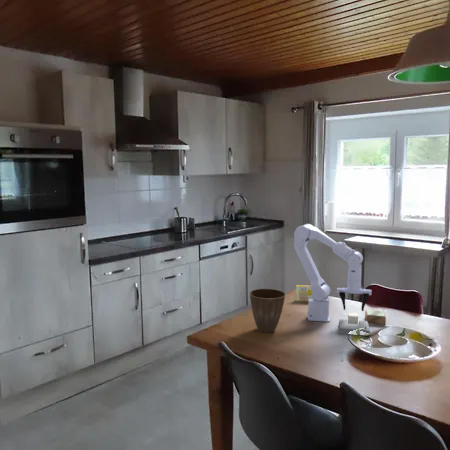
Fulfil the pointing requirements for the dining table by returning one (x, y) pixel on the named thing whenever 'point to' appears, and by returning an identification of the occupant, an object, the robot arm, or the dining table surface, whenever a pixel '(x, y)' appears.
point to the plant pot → (267, 308)
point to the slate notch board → (352, 326)
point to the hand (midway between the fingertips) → (353, 309)
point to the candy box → (303, 293)
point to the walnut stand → (375, 317)
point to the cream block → (352, 318)
